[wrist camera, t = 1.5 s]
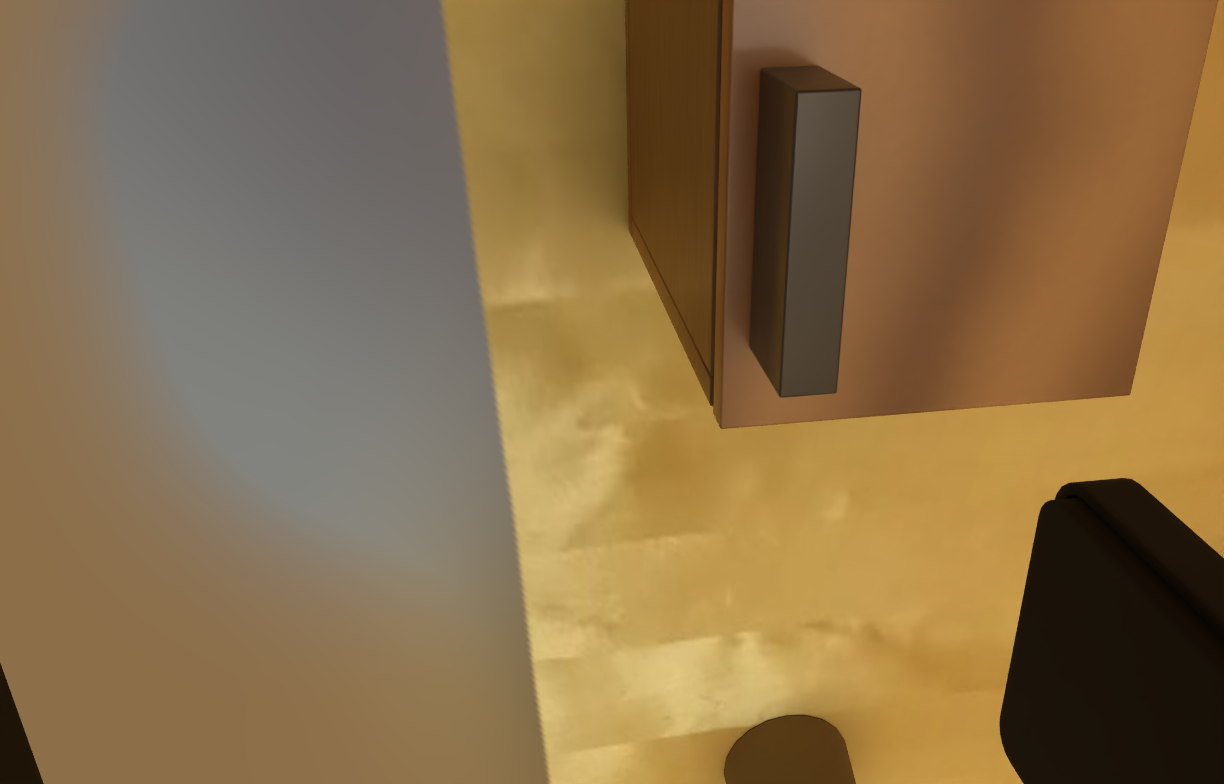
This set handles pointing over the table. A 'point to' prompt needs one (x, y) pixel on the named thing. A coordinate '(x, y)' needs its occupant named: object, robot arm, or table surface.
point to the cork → (790, 754)
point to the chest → (677, 161)
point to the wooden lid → (943, 199)
